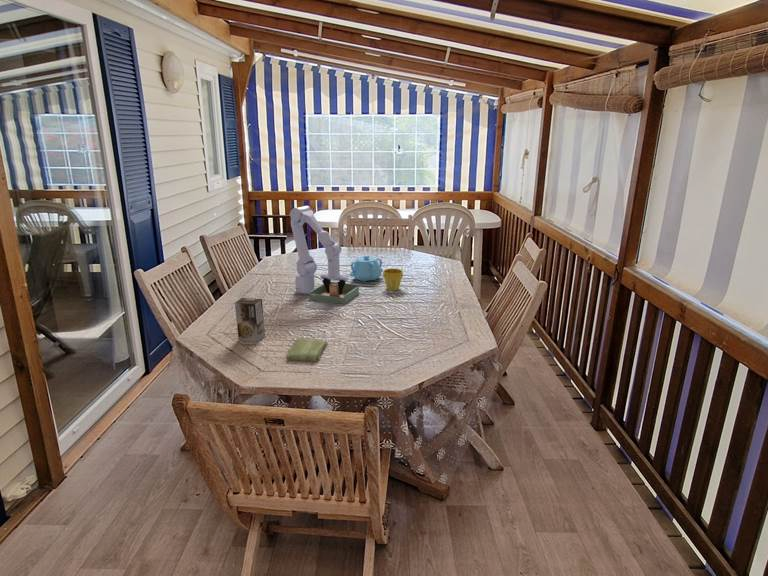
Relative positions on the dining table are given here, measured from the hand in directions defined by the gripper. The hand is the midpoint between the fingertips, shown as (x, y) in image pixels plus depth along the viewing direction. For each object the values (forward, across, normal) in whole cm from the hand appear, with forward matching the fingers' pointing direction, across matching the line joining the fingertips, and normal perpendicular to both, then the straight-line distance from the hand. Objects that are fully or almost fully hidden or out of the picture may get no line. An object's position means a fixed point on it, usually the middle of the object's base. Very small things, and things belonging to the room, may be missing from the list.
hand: (334, 293), depth 254 cm
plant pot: (+2, +23, +23) cm, 33 cm away
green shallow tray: (+2, 0, 0) cm, 2 cm away
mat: (+2, 0, -15) cm, 15 cm away
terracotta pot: (+2, 0, 0) cm, 2 cm away
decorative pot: (+2, +3, +35) cm, 35 cm away
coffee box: (+2, -8, -60) cm, 60 cm away
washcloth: (+2, +19, -63) cm, 66 cm away
